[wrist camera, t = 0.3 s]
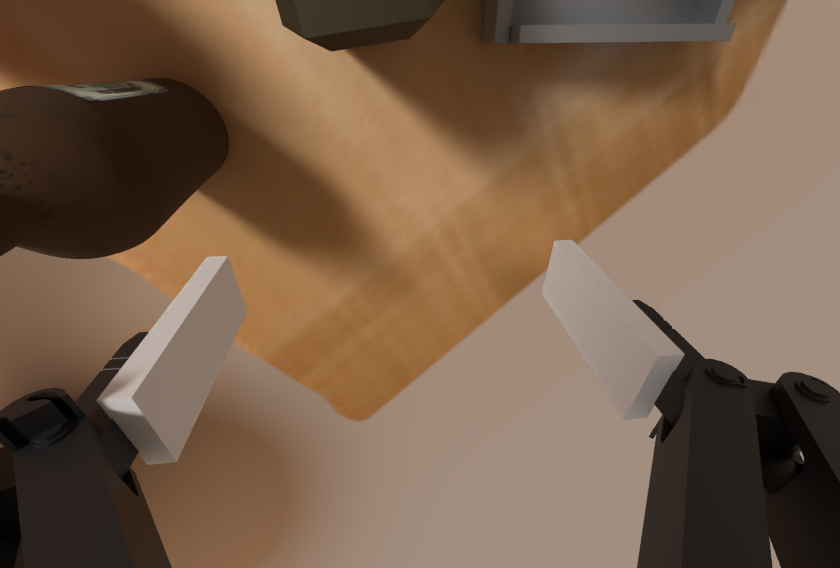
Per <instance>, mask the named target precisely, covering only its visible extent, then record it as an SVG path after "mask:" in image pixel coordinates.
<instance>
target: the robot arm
mask: <svg viewBox="0 0 840 568" xmlns="http://www.w3.org/2000/svg"><path fill="white" fill-rule="evenodd" d="M542 295H543V297H544V298H545V300H546V301H547V303H548V304H549V306H550V307H551V309H552V310H553V312H554V313H555V315H556V317H557V318H558V320H559V321H560V323H561V324H562V326H563V327H564V329H565V330H566V332H567V333H568V335H569V336H570V338H571V339H572V341H573V342H574V344H575V345H576V347H577V349H578V350H579V352H580V353H581V355H582V356H583V358H584V359H585V361H586V362H587V364H588V365H589V367H590V369H591V370H592V372H593V373H594V375H595V376H596V378H597V379H598V381H599V382H600V384H601V385H602V387H603V388H604V390H605V391H606V393H607V394H608V396H609V397H610V399H611V400H612V402H613V404H614V405H615V407H616V408H617V410H618V411H619V413H620V414H621V416H622V417H623V419H635V418H645V417H648V415H649V413H650V412H651V410H652V408H653V407H654V405H656V407H657V408H658V409H659V410H660V412H661V413H662V414H663V415H662V416H661V418H660V420H659V421H658V423H657V424H656V426H655V427H654V429H653V431H652V432H651V434H650V436H649V437H650V438H652V439H653V438H654V437H655V435H656V434H657V435H656V442H655V448H654V455H653V462H652V469H651V476H650V482H649V489H648V496H647V503H646V510H645V517H644V524H643V531H642V537H641V544H640V551H639V558H638V566H637V568H772V559H771V550H770V541H769V537H770V539H771V542H772V545H773V548H774V550H775V553H776V556H777V558H778V561H779V563H780V566H781V568H840V393H839V392H838V391H837V390H836V389H834V388H833V387H831V386H830V385H828V384H827V383H826V382H824V381H822V380H819V379H818V378H815V377H813V376H809V375H806V374H803V373H797V372H788V373H784V374H783V375H782V376H781V377H780V378H779V379H778V381H777V382H776V383H775V384H774V383H768V382H762V381H756V380H751V379H748V378H747V377H746V376H745V375H744V374H743V373H742V372H740V371H739V370H737V369H736V368H734V367H733V366H731V365H728V364H726V363H724V362H722V361H718V360H714V359H705V358H704V357H703V356H702V355H701V354H700V353H699V352H697V350H696V349H694V348H693V347H692V346H691V345H690V344H689V343H688V342H687V341H686V340H685V339H684V338H683V337H682V336H681V335H680V334H679V333H678V332H677V331H676V330H675V329H672V326H670V324H668V322H666V321H664V320H663V318H662V317H661V316H660V315H659V314H658V313H657V312H656V311H655V310H654V309H653V308H652V307H649V306H648V305H646V304H645V303H643V302H641V301H639V300H631V299H630V298H629V297H628V296H627V295H626V294H625V293H624V292H623V291H622V290H621V289H620V288H619V287H618V286H617V285H616V284H615V283H614V282H613V281H612V280H611V279H610V278H609V277H608V276H607V275H606V274H605V273H604V272H603V271H602V270H601V269H600V268H599V267H598V266H597V265H596V264H595V263H594V262H593V261H592V260H591V258H589V256H588V255H587V254H585V252H584V251H583V250H582V249H581V248H580V247H579V246H578V245H577V244H576V243H575V242H574V241H573V240H557V241H554V245H553V249H552V253H551V257H550V261H549V266H548V270H547V274H546V278H545V282H544V286H543V290H542ZM246 313H247V310H246V307H245V304H244V301H243V298H242V295H241V292H240V290H239V287H238V284H237V281H236V278H235V275H234V272H233V269H232V267H231V264H230V261H229V258H228V256H216V257H207V258H206V259H205V260H204V261H203V263H202V264H201V265H200V267H199V268H198V269H197V271H196V272H195V273H194V274H193V276H192V277H191V278H190V280H189V281H188V282H187V284H186V285H185V286H184V287H183V289H182V290H181V291H180V293H179V294H178V295H177V296H176V298H175V299H174V300H173V302H172V303H171V304H170V306H169V307H168V308H167V310H166V311H165V312H164V314H163V315H162V316H161V317H160V319H159V320H158V321H157V323H156V324H155V325H154V326H153V328H152V329H151V330H150V331H149V332H140V333H138V334H136V335H135V336H134V337H133V338H131V339H129V340H128V341H127V342H125V343H124V344H123V345H122V346H121V347H120V348H119V350H118V351H117V352H116V353H115V354H114V356H113V357H112V360H109V362H108V363H107V364H106V365H105V367H104V368H103V371H101V372H100V373H99V374H98V375H97V376H96V377H95V379H94V380H93V381H92V382H91V384H90V385H89V386H88V387H87V388H86V390H85V391H84V392H83V393H82V394H81V396H80V397H79V398H78V399H77V400H76V402H74V401H73V400H72V398H71V397H70V396H69V395H68V394H67V393H66V392H65V390H63V389H59V388H50V389H43V390H39V391H36V392H34V393H31V394H28V395H25V396H24V397H22V398H20V399H18V400H16V401H14V402H12V403H11V404H10V405H8V406H7V407H5V408H4V409H3V410H1V411H0V443H1V444H2V445H3V446H4V447H2V448H0V568H172V567H171V565H170V562H169V559H168V557H167V554H166V552H165V549H164V547H163V544H162V541H161V539H160V536H159V533H158V531H157V529H156V526H155V523H154V520H153V518H152V515H151V513H150V510H149V507H148V505H147V502H146V500H145V497H144V494H143V492H142V489H141V487H140V484H139V482H138V479H137V476H136V473H135V472H134V471H133V470H132V468H131V467H130V466H131V464H132V462H133V461H134V459H135V457H136V455H137V453H139V454H140V456H141V457H142V458H143V460H144V461H145V462H146V463H147V464H158V463H169V462H177V460H178V458H179V456H180V454H181V451H182V450H183V447H184V445H185V443H186V441H187V439H188V437H189V435H190V432H191V430H192V428H193V426H194V424H195V422H196V420H197V418H198V415H199V413H200V411H201V409H202V407H203V405H204V402H205V401H206V398H207V396H208V394H209V392H210V390H211V388H212V386H213V383H214V381H215V379H216V377H217V375H218V373H219V371H220V368H221V366H222V364H223V362H224V360H225V358H226V356H227V354H228V351H229V349H230V347H231V345H232V343H233V341H234V339H235V337H236V334H237V332H238V330H239V328H240V326H241V324H242V322H243V319H244V317H245V315H246ZM801 451H802V453H803V456H804V461H803V459H802V457H801V456H800V454H799V453H800V452H801Z"/></svg>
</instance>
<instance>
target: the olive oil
mask: <svg viewBox="0 0 840 568" xmlns="http://www.w3.org/2000/svg"><path fill="white" fill-rule="evenodd" d="M227 153H228V135H227V131H226V128H225V125H224V123H223V121H222V119H221V117H220V115H219V114H218V112H217V111H216V109H215V108H214V107H213V106H212V104H211V103H210V102H209V101H208V100H207V99H206V98H205V97H204V96H202V95H201V94H200V93H198V92H197V91H196V90H194V89H192V88H191V87H189V86H187V85H185V84H183V83H180V82H177V81H174V80H169V79H160V78H156V79H144V80H131V81H119V82H103V83H86V84H65V85H42V86H24V87H16V88H11V89H6V90H2V91H0V256H1V255H3V254H5V253H6V252H8V251H10V250H11V249H13V248H14V247H16V246H17V247H20V248H24V249H27V250H30V251H34V252H38V253H41V254H45V255H50V256H55V257H61V258H70V259H90V258H91V259H92V258H99V257H105V256H109V255H113V254H117V253H120V252H123V251H126V250H129V249H131V248H133V247H136V246H137V245H139V244H141V243H143V242H144V241H146V240H147V239H149V238H150V237H151V236H152V235H153V234H155V233H156V232H157V231H158V230H159V229H160V227H161V226H162V225H163V224H164V223H165V222H166V221H167V220H168V219H169V218H170V217H171V216H172V215H173V214H174V213H175V212H176V211H177V210H178V208H179V207H180V206H181V205H182V204H183V203H184V202H185V201H186V200H187V199H188V198H189V197H190V196H191V195H192V194H193V193H194V192H195V191H196V190H197V189H198V188H199V187H200V186H201V185H202V184H203V183H204V182H205V181H207V180H208V179H209V178H210V177H211V176H212V175H213V174H214V173H215V172H216V171H217V170H218V169H219V168H220V167H221V166H222V164H223V163H224V161H225V159H226V156H227Z"/></svg>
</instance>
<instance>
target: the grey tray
mask: <svg viewBox="0 0 840 568" xmlns="http://www.w3.org/2000/svg"><path fill="white" fill-rule="evenodd" d="M734 3H735V0H485V7H484V20H483V34H482V43H592V42H678V41H729V40H730V38H731V35H732V33H733V30H734V28H735V25H736V23H727V21H728V19H729V16H730V13H731V11H732V8H733V6H734Z"/></svg>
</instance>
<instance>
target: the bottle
mask: <svg viewBox="0 0 840 568" xmlns="http://www.w3.org/2000/svg"><path fill="white" fill-rule="evenodd" d="M444 1H445V0H276V4H277V7H278V11H279V14H280V18H281V21H282V24H283V26H285V27H286V28H288V29H289V30H291V31H293V32H294V33H296V34H298V35H299V36H301V37H302V38H304V39H306V40H308V41H310V42H312V43H315V44H317V45H319V46H321V47H323V48H325V49H327V50H329V51H337V50H343V49H349V48H355V47H361V46H367V45H373V44H379V43H385V42H391V41H397V40H404V39H410V38H411V37H412V36H413V35H414V34H415V33H416V32H417V31H418V30H419V29H420V28H421V27H422V26H423V25H424V24H425V23H426V22H427V21H428V20H429V19H430V18H431V16H432V15H433V14H434V13H435V12H436V10H437V9H438V8H439V7H440V6H441V4H442V3H443V2H444Z"/></svg>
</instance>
